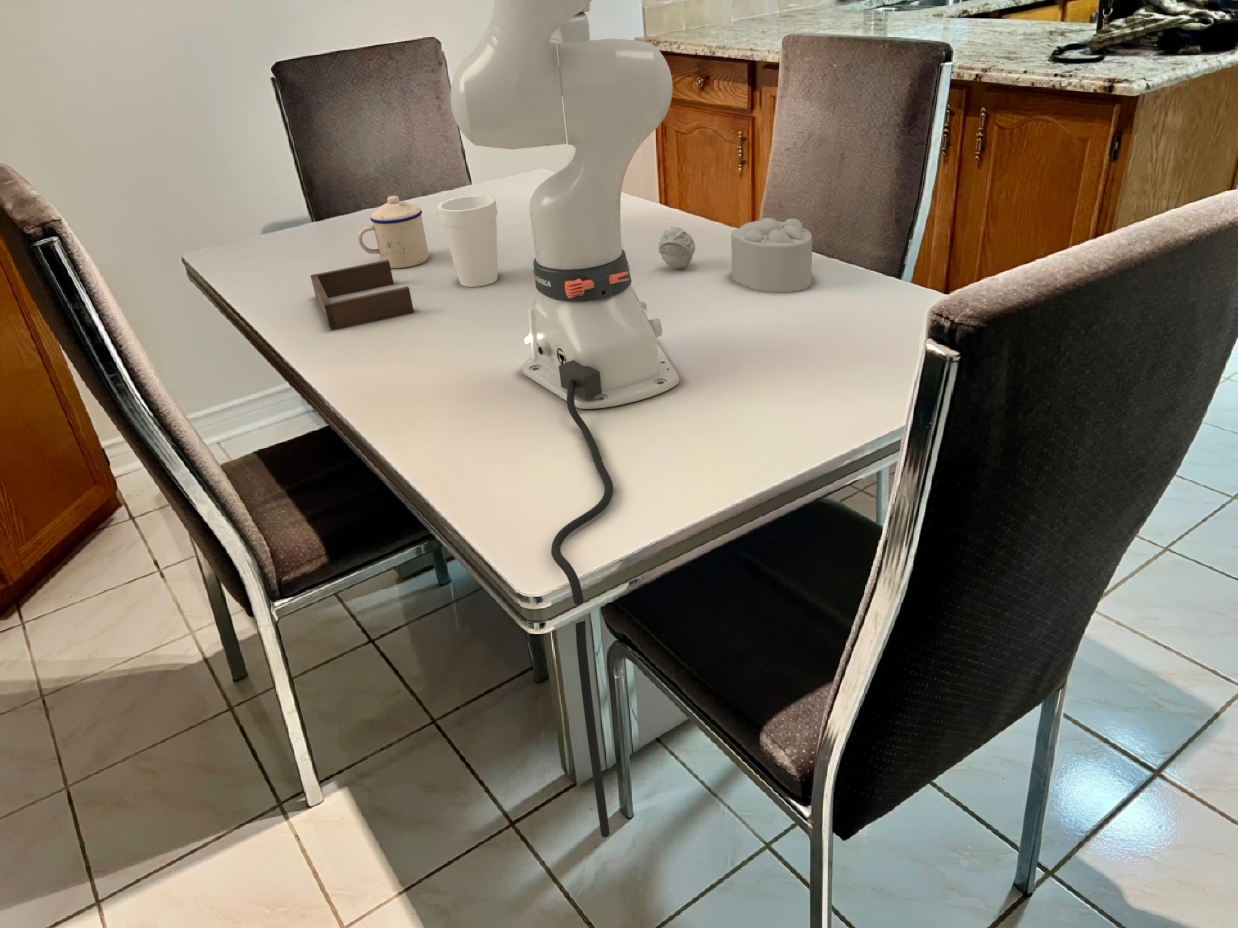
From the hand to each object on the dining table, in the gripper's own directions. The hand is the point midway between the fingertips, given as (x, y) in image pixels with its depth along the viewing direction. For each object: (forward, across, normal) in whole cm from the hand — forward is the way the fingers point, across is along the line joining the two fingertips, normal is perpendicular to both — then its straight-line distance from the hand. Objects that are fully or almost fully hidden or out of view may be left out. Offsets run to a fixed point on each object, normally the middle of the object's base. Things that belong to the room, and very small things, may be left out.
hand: (560, 94), depth 150 cm
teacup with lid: (+27, -19, -28) cm, 44 cm away
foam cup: (+27, 0, -18) cm, 33 cm away
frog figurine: (+27, +15, +12) cm, 33 cm away
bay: (+27, 0, -37) cm, 46 cm away
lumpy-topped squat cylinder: (+27, +29, +22) cm, 46 cm away
